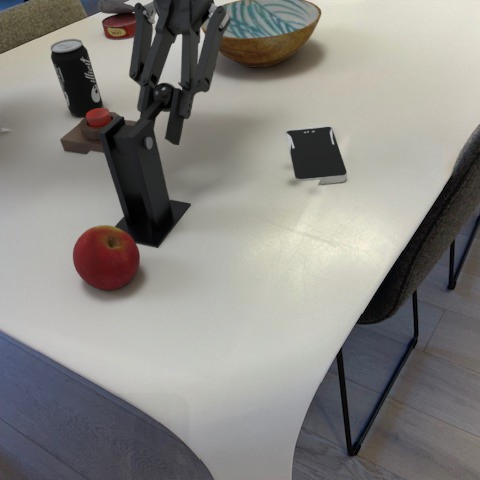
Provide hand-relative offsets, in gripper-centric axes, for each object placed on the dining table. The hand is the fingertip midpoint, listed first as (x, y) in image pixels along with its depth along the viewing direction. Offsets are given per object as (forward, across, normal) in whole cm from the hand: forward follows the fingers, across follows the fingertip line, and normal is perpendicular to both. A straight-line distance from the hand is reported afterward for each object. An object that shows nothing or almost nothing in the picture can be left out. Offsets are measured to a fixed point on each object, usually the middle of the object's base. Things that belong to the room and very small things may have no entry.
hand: (158, 139), depth 66 cm
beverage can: (-9, +31, -23) cm, 40 cm away
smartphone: (-5, -17, -19) cm, 26 cm away
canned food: (-38, +47, -52) cm, 79 cm away
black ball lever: (-1, 0, +2) cm, 2 cm away
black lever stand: (+11, 0, -3) cm, 12 cm away
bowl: (-31, +6, -45) cm, 55 cm away
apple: (+20, -1, +5) cm, 20 cm away
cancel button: (-5, +20, -14) cm, 25 cm away
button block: (-2, +20, -16) cm, 26 cm away
